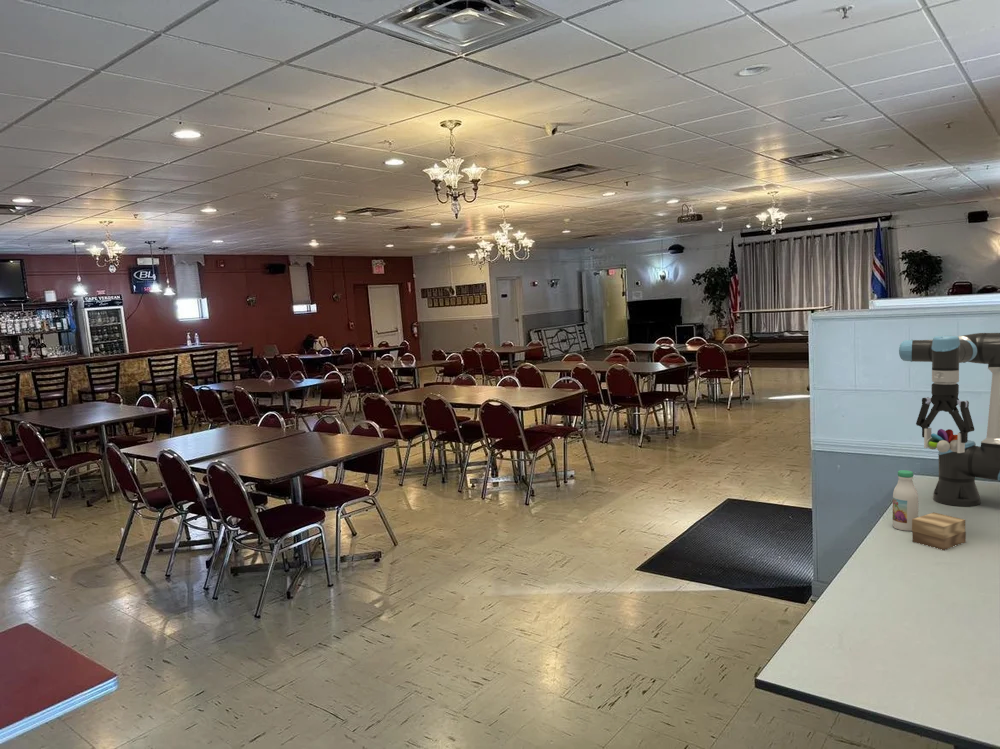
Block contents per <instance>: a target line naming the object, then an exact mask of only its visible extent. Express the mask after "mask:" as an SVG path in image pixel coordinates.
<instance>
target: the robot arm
mask: <svg viewBox="0 0 1000 749" xmlns="http://www.w3.org/2000/svg"><path fill="white" fill-rule="evenodd" d="M898 354H899V357H900V358H899V359H901V361H904V362H911V363H912V362H917V363H921V362H922V363H923V362H924V363H931V382H932V384H931V395H932V396H931V397H929V396H928V397H922V398H921V406H920V409H919V414H918V417H917V420H916V423H915V425H916V426H919V427H920V428H921V437H922V438H923V444H924V445H923V448H924V449H929V448H928V447H927V445H926V442H927V440H928V439H929V438H932V437H931V434H932V427H931V425H932V423H933V421H934V420H935V419H936V416H937V415H938V414H939V413H940V412H948V414H949V415H951V418H952V419H953V421H954V423H955V425H956V426H957V428H958V430H959V432H957V435H958V443H957V452H953V451H951V450H950V449H949V450H948V451H947V452H940V451H938V454H937V455H938V480H937V483H936V485H935V488H934V491H933V493H932V495H933V497H932V499H933V501H934V502H937V503H940V504H943V505H948V506H954V507H974V506H978V505H980V504H981V494H980V493H979V489H978V487H977V485H976V478H980V479H984V480H992V481H998V482H1000V332H977V333H971V334H963V335H936V336H934V337H932V339H906V340H905V339H904V340H903V341H902V342H901V343H900V345H899V348H898ZM966 363H974V364H980V365H981V364H983V365H987V370H989V371H990V372H991V373H992V374H991V383H990V384H991V386H990V396H989V405H988V406H989V408H988V418H987V429H986V438H984V439H983V440H982V441H980V445H979V446H978V445H976V442H975V441H974V440H968V439H969V438H968V436H969V433H971V432H974V431H975V426H974V423H973V419H972V415H971V413H970V409H969V405H970V402H969V400H960V399H959V392H960V391H959V390H960V389H959V388H960V387H959V386H960V385H959V384H958V383H959V382H960V364H966ZM931 404H932V405H933V406H932V407H931V409H930V406H931ZM957 406H958V407H959V409H958V407H957ZM929 409H930V412H929ZM959 410H960V412H961V415H960V412H959ZM928 412H929V413H928Z"/></svg>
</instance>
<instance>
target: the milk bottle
mask: <svg viewBox="0 0 1000 749" xmlns="http://www.w3.org/2000/svg"><path fill="white" fill-rule="evenodd" d="M897 478H898V480H897V484H896V485H895V487H894V489H893V493H892V527H893V528H894V529H896V530H900V531H905V532H912V519H914V518H917V517H919V493H918V491H917V488H916V487H915V484H914V481H913V479H914V472H913V471H911V470H907V469H900V470H898V471H897Z"/></svg>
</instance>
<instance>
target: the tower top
mask: <svg viewBox="0 0 1000 749" xmlns="http://www.w3.org/2000/svg"><path fill="white" fill-rule="evenodd" d="M912 531H914V532H918V533H921V534H925V535H929V536H933V537H937V538H940V539H946V538H949V537H952V536H955V535H957V534H960V533H963V532H966V519H964V518H960V517H959V518H958V517H955V516H950V515H947V514H943V513H938V512H931V513H927V514H924V515H920V516H918V517H917V518H914V519H912ZM912 531H911V532H912Z"/></svg>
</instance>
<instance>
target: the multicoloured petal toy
mask: <svg viewBox="0 0 1000 749" xmlns="http://www.w3.org/2000/svg"><path fill="white" fill-rule="evenodd" d="M957 443H958V434H954V431H953V429H946V430H945V429H943V428H940V429H938V430H937V433H931V438H929V439H928V440H927V442H926V445H927V447H928V448H927V449H930V450H936V449H937V451H938V452H939V451H940V452H947V451H948V450H949V449H950V450H951V451H953V452H957Z"/></svg>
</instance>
